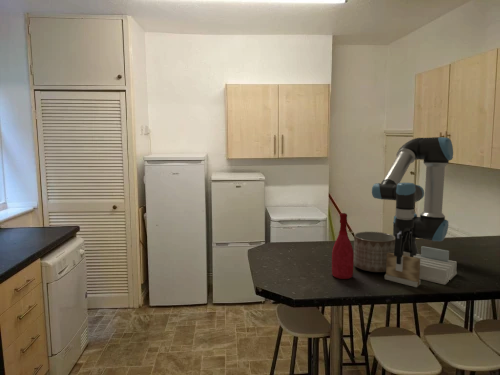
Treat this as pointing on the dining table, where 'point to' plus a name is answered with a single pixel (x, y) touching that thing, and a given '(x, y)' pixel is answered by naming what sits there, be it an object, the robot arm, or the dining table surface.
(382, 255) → the planter
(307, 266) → the dining table surface
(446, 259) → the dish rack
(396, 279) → the board stand
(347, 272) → the wine bottle
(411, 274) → the oak board
